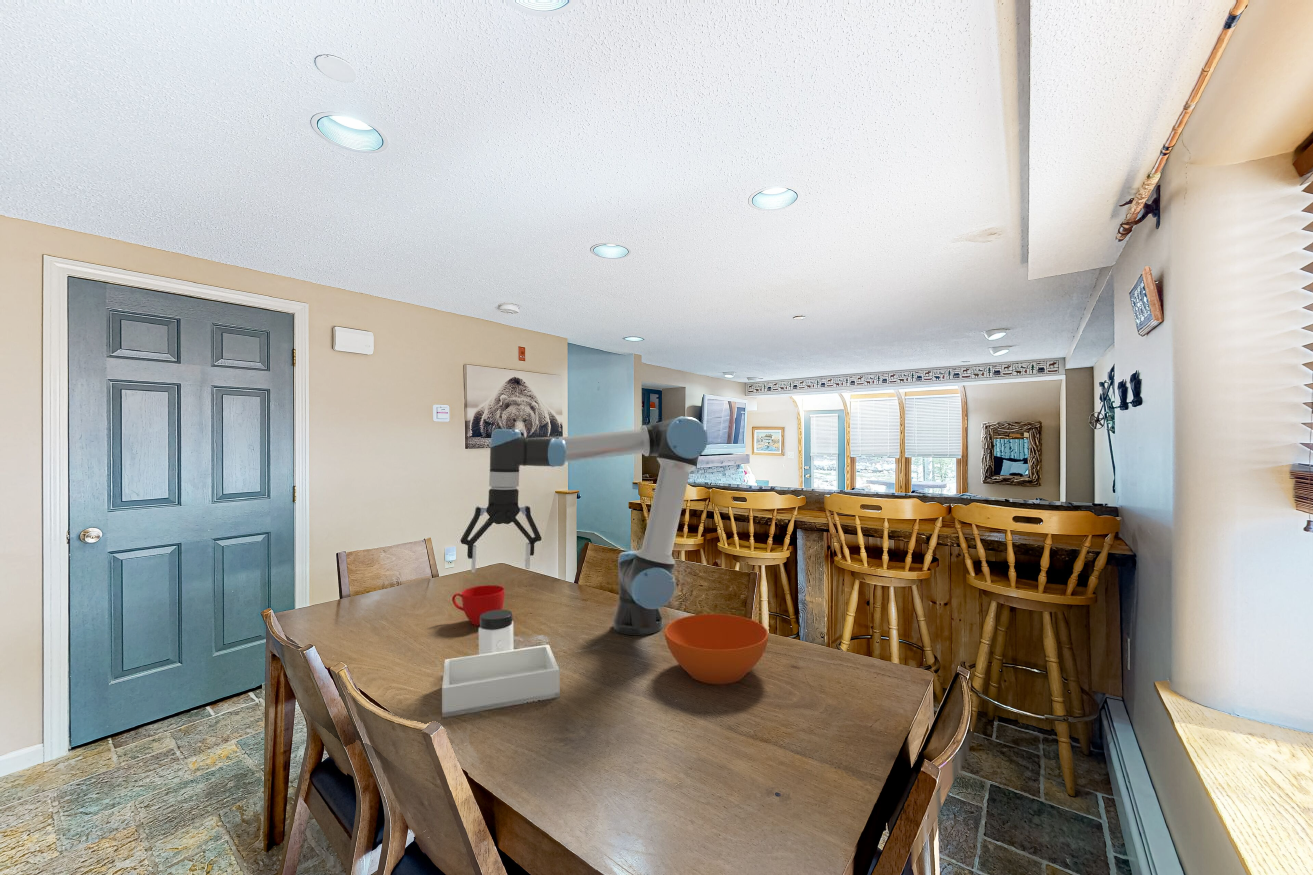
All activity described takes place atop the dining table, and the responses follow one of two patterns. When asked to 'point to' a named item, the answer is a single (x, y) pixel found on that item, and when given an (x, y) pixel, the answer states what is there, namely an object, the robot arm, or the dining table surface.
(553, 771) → the dining table surface
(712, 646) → the bowl
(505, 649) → the jar
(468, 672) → the bin
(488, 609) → the ceramic cup
